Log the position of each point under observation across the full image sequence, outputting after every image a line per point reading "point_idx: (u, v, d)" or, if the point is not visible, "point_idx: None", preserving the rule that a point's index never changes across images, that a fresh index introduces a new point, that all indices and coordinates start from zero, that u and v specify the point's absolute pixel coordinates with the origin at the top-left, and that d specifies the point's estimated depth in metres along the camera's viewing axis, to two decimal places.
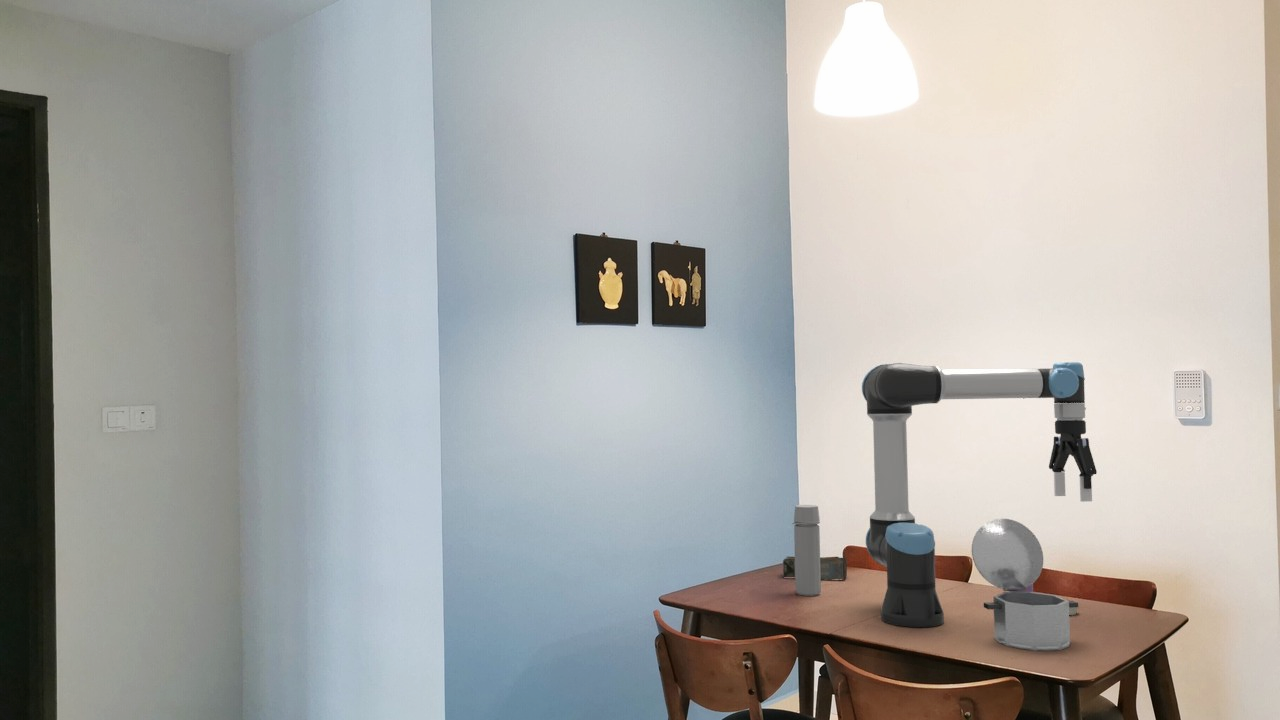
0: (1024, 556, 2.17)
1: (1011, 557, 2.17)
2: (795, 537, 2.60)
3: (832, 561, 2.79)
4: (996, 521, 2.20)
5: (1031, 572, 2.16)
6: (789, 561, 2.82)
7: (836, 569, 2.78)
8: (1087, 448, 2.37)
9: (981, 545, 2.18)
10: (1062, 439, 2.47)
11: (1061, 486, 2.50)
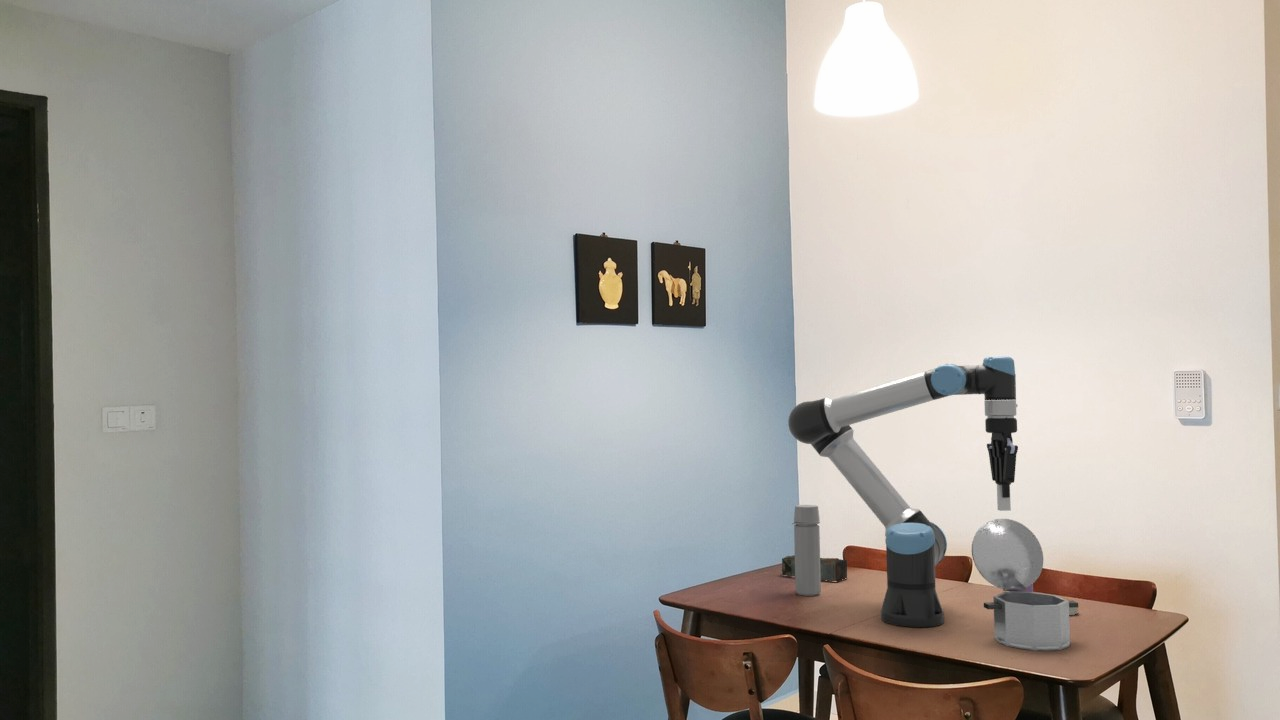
0: (1024, 556, 2.17)
1: (1011, 557, 2.17)
2: (795, 537, 2.60)
3: (826, 562, 2.77)
4: (996, 521, 2.20)
5: (1031, 572, 2.16)
6: (787, 560, 2.85)
7: (829, 570, 2.76)
8: (1013, 456, 2.26)
9: (981, 545, 2.18)
10: (992, 436, 2.34)
11: None
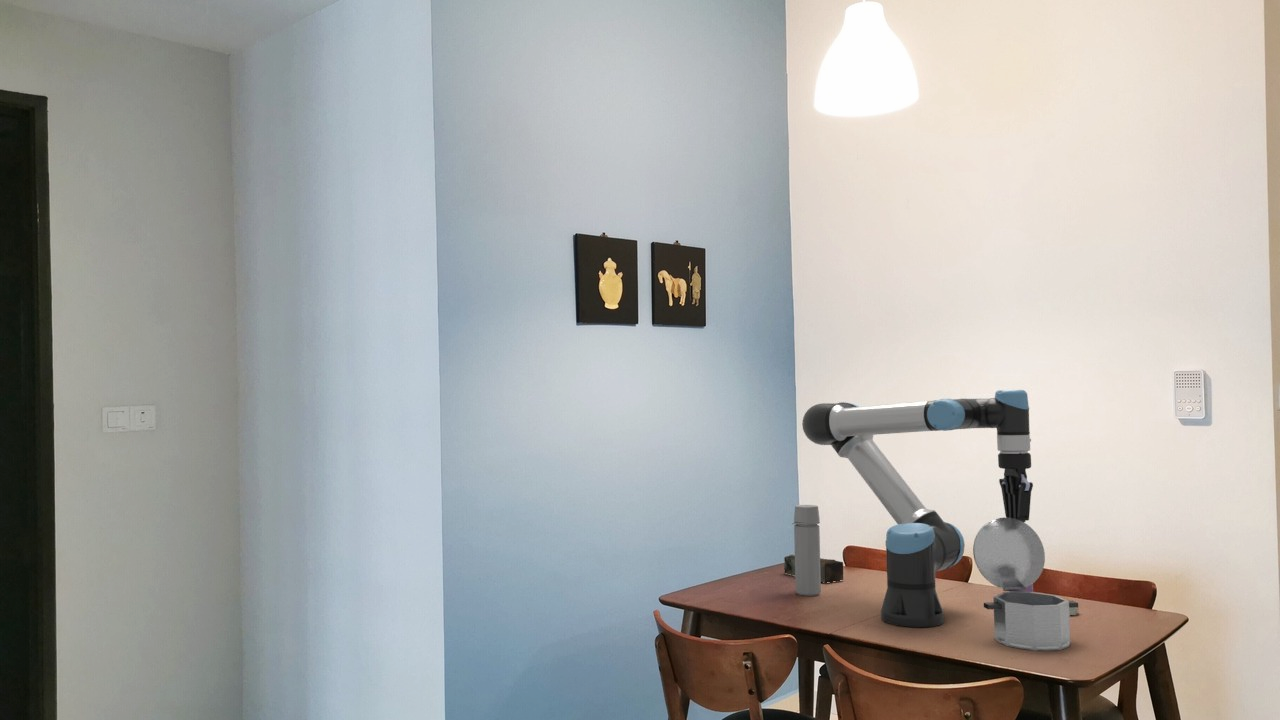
0: (1026, 556, 2.17)
1: (1012, 557, 2.17)
2: (795, 537, 2.60)
3: None
4: (999, 520, 2.19)
5: (1032, 572, 2.16)
6: (788, 558, 2.87)
7: None
8: (1028, 493, 2.18)
9: (983, 544, 2.17)
10: (1005, 472, 2.26)
11: None
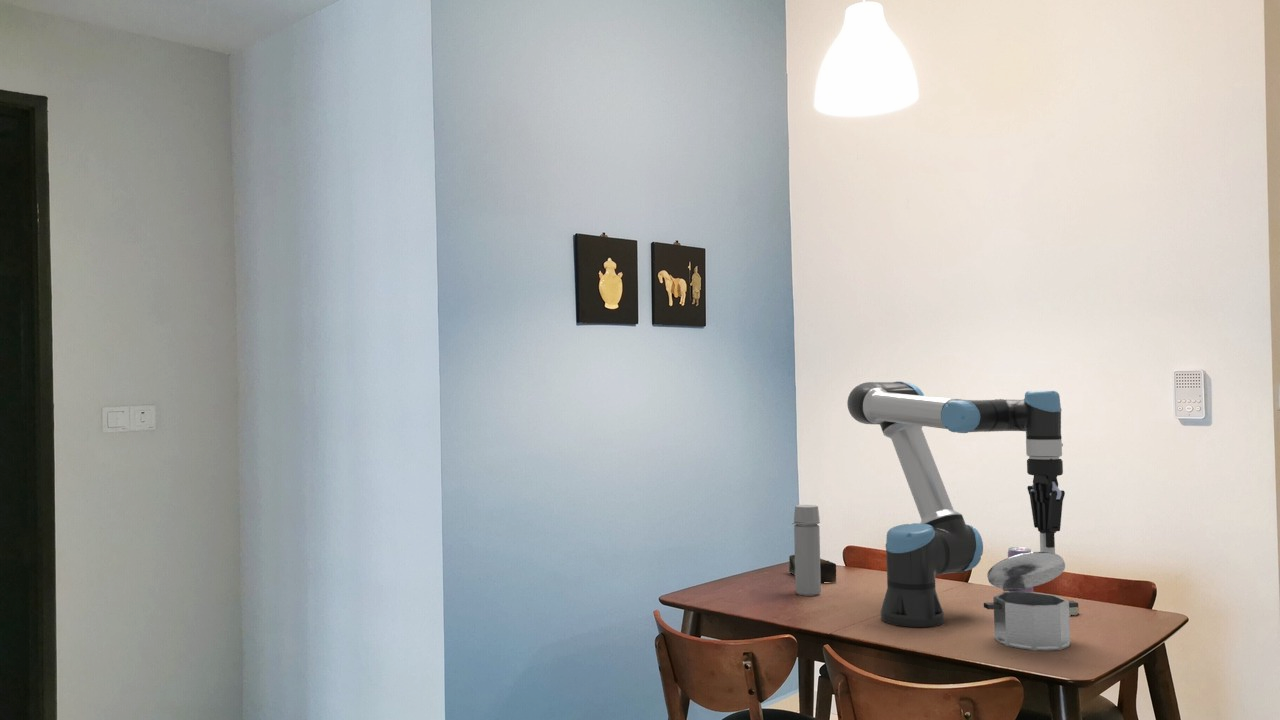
0: (1041, 573, 2.09)
1: (1027, 574, 2.09)
2: (795, 537, 2.60)
3: None
4: (1032, 556, 2.02)
5: (1040, 581, 2.12)
6: (791, 557, 2.89)
7: None
8: (1059, 502, 2.03)
9: (1003, 569, 2.06)
10: (1035, 478, 2.11)
11: None
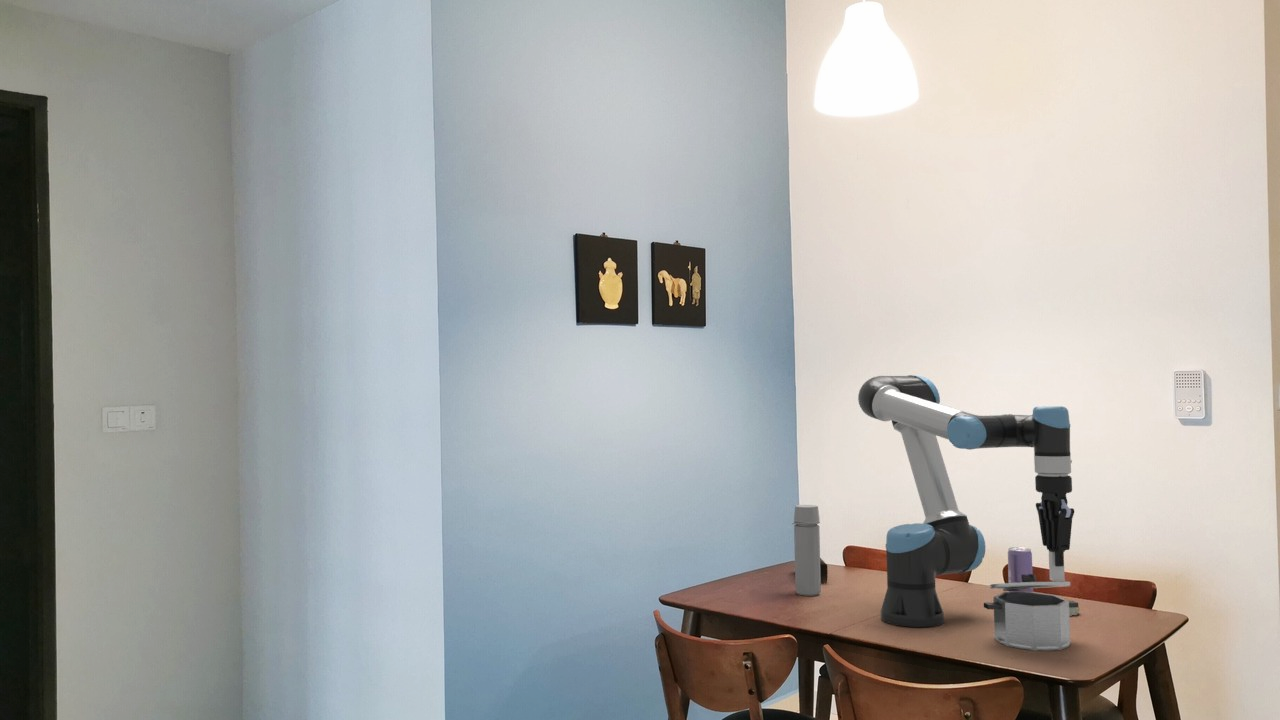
0: None
1: None
2: (795, 537, 2.60)
3: None
4: (1039, 585, 1.99)
5: (1041, 587, 2.11)
6: None
7: None
8: (1069, 521, 1.99)
9: None
10: (1043, 496, 2.07)
11: None
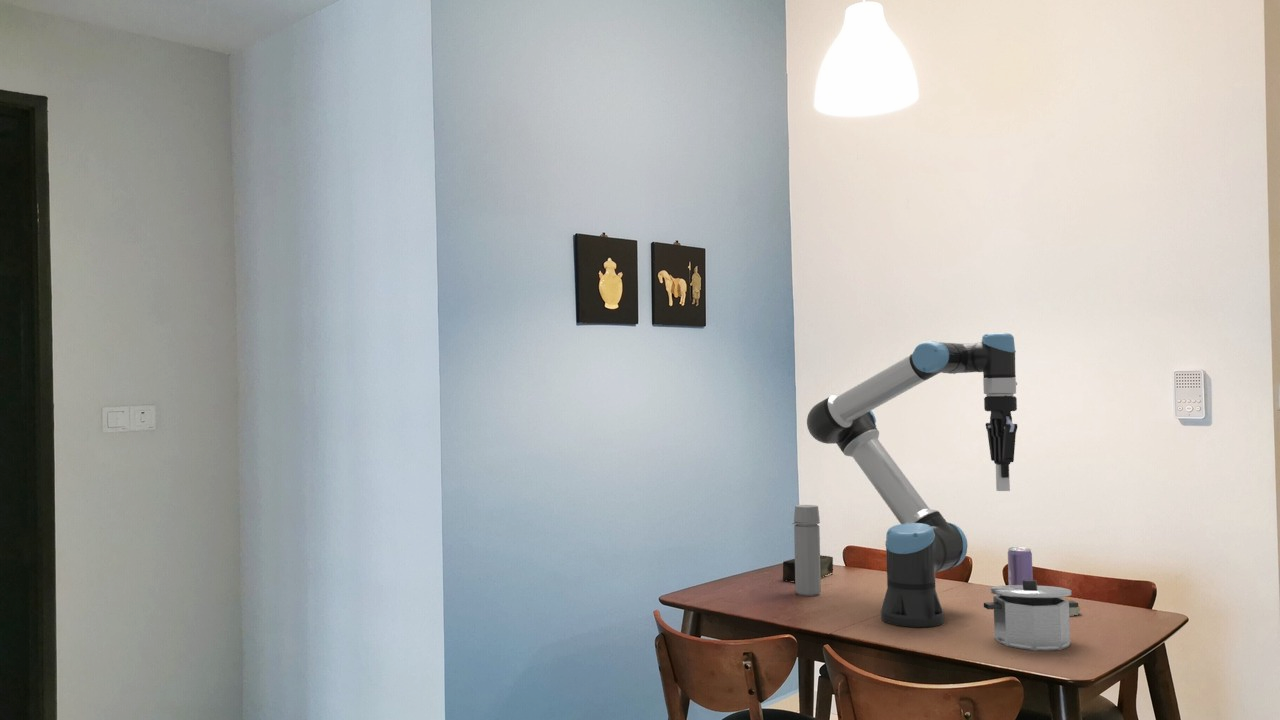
0: None
1: None
2: (795, 537, 2.60)
3: None
4: (1040, 597, 1.99)
5: None
6: None
7: None
8: (1013, 435, 2.20)
9: None
10: (991, 415, 2.28)
11: None
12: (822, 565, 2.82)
